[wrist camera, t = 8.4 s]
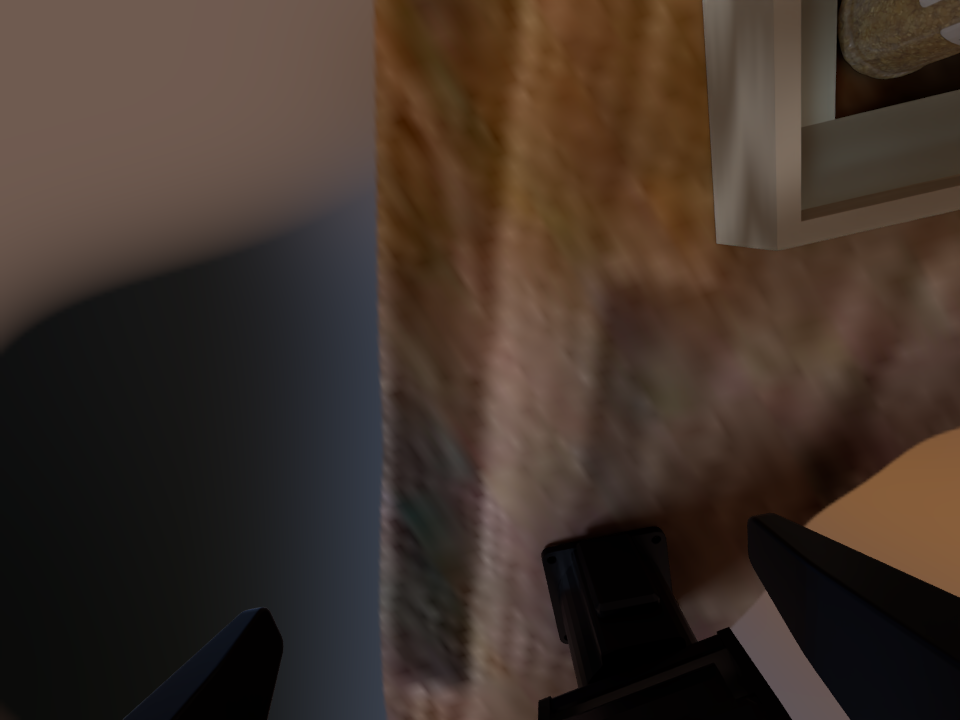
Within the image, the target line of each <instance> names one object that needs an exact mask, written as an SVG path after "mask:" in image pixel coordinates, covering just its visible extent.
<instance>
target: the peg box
mask: <svg viewBox="0 0 960 720" xmlns="http://www.w3.org/2000/svg"><path fill="white" fill-rule="evenodd" d="M703 17H704V35H705V52H706V69H707V86H708V104H709V121H710V138H711V156H712V173H713V190H714V208H715V225H716V242H717V244H725V245H733V246H741V247H749V248H758V249H766V250H774V251H779V250H784V249H788V248H793V247H797V246H801V245H806V244H810V243H815V242H819V241H824V240H828V239H832V238H837V237H841V236H846V235H850V234H855V233H859V232H863V231H868V230H872V229H877V228H881V227H886V226H890V225H894V224H899V223H903V222H908V221H912V220H916V219H921V218H925V217H930V216H934V215H939V214H943V213H947V212H952V211H956V210H960V90H956V91H951V92H947V93H943V94H939V95H935V96H930V97H926V98H922V99H918V100H914V101H910V102H905V103H901V104H897V105H893V106H889V107H885V108H880V109H876V110H872V111H868V112H864V113H860V114H855V115H851V116H847V117H843V118H839V119H835V89H836V42H837V0H703Z"/></svg>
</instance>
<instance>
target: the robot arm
mask: <svg viewBox="0 0 960 720" xmlns="http://www.w3.org/2000/svg"><path fill="white" fill-rule="evenodd" d="M747 529H748V555H749V559H750V562H751V564H752V566H753V568H754V570H755V572H756V573H757V575H758V577H759V579H760V580H761V582H762V584H763V585H764V587H765V589H766V591H767V592H768V594H769V596H770V597H771V599H772V601H773V602H774V604H775V606H776V607H777V609H778V611H779V613H780V614H781V616H782V618H783V619H784V621H785V623H786V625H787V626H788V628H789V630H790V632H791V633H792V635H793V637H794V638H795V640H796V642H797V643H798V645H799V646H800V648H801V650H802V651H803V653H804V655H805V656H806V658H807V659H808V661H809V662H810V663H811V665H812V666H813V668H814V669H815V671H816V672H817V674H818V675H819V676H820V678H821V679H822V681H823V682H824V683H825V685H826V686H827V688H829V690H830V692H831V693H832V695H833V696H834V697H835V699H836V700H837V702H838V703H839V704H840V706H841V707H842V709H843V710H844V711H845V713H846V714H847V716H848V717H849V718H850V720H960V597H957V596H955V595H953V594H951V593H948V592H946V591H944V590H942V589H940V588H938V587H935V586H933V585H931V584H929V583H926V582H924V581H922V580H919V579H918V578H916V577H913V576H911V575H909V574H906V573H905V572H902V571H900V570H898V569H896V568H893V567H891V566H889V565H887V564H885V563H883V562H880V561H878V560H876V559H873V558H872V557H869V556H867V555H865V554H863V553H861V552H858V551H856V550H854V549H852V548H849V547H847V546H845V545H843V544H841V543H839V542H836V541H834V540H832V539H830V538H828V537H825V536H823V535H821V534H819V533H817V532H814V531H812V530H810V529H808V528H806V527H803V526H801V525H799V524H797V523H795V522H792V521H790V520H788V519H786V518H784V517H781V516H779V515H777V514H774V513H767V514H762V515H756V516H752V517H750V518H749V519H748V524H747ZM654 536H657V537H656V538H653V537H654ZM551 556H554V558H552V559H549V557H551ZM541 557H542V562H543V567H544V571H545V575H546V580H547V584H548V589H549V593H550V598H551V602H552V606H553V611H554V615H555V620H556V624H557V629H558V633H559V637H560V640H561V642H563V643H565V644H569V648H570V653H571V657H572V661H573V666H574V670H575V675H576V679H577V684H578V688H577V689H575V690H572V691H569V692H567V693H564V694H562V695H559V696H557V697H554V698H551V696H549V697H547V698H544V699H542V700H539V702H538V720H792V719H791V718H790V716H789V714H788V713H787V711H786V710H785V708H784V707H783V705H782V704H781V702H780V701H779V699H778V698H777V696H776V695H775V694H774V692H773V691H772V689H771V688H770V686H769V685H768V683H767V682H766V680H765V679H764V677H763V676H762V674H761V673H760V672H759V670H758V669H757V667H756V666H755V664H754V663H753V662H752V660H751V658H750V657H749V656H748V654H747V653H746V651H745V650H744V648H743V647H742V645H741V644H740V643H739V641H738V640H737V638H736V637H735V635H734V634H733V632H732V631H731V629H730V628H729V627H727V628H725V629H722V630H720V631H717V635H714V636H712V637H709V638H706V639H704V640H701V641H699V642H698V641H697V639H696V637H695V635H694V634H693V632H692V630H691V628H690V626H689V624H688V622H687V620H686V618H685V617H684V615H683V613H682V611H681V609H680V607H679V605H678V603H677V601H676V599H675V598H674V596H673V594H672V586H671V577H670V569H669V560H668V552H667V543H666V537H665V535H664V533H663V531H662V530H661V529H660V528H659V527H649V528H644V529H639V530H634V531H629V532H624V533H618V534H613V535H608V536H603V537H598V538H593V539H588V540H583V541H578V542H573V543H568V544H563V545H558V546H553V547H548V548H545V549H544V550H543V551H542V553H541ZM282 654H283V639H282V636H281V634H280V632H279V630H278V627H277V626H276V624H275V621H274V619H273V617H272V615H271V612H270V611H269V610H268V609H267V608H265V607H260V608H255V609H250V610H246V611H243V612H242V613H240V614H239V615H238V616H237V617H236V618H235V619H234V620H233V621H232V622H230V623H229V624H228V625H227V626H226V627H225V628H224V629H223V630H222V631H220V632H219V633H218V634H217V635H216V636H215V637H214V638H213V639H212V640H211V641H209V642H208V643H207V644H206V645H205V646H204V647H203V648H202V649H201V650H199V651H198V652H197V653H196V654H195V655H194V656H193V657H192V658H191V659H190V660H188V661H187V662H186V663H185V664H184V665H183V666H182V667H181V668H179V669H178V670H177V671H176V672H175V673H174V674H173V675H172V676H171V677H169V678H168V679H167V680H166V681H165V682H164V683H163V684H162V685H161V686H160V687H158V688H157V689H156V690H155V691H154V692H153V693H152V694H151V695H150V696H148V698H146V699H145V700H144V701H143V702H142V703H141V704H140V705H139V706H137V707H136V708H135V709H134V710H133V711H132V712H131V713H130V714H128V715H127V716H126V717H125V718H124V719H123V720H267V719H268V714H269V710H270V706H271V701H272V697H273V692H274V688H275V684H276V680H277V675H278V671H279V666H280V662H281V658H282Z"/></svg>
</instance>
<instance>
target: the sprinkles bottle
mask: <svg viewBox="0 0 960 720" xmlns="http://www.w3.org/2000/svg"><path fill="white" fill-rule="evenodd" d="M837 34H838V39H839V43H840V48H841V51H842V54H843V57H844V59H845V61H847V62H848V63H849V64H850V65H851V66H852V68H853V69H854V70H856V71H858V72H859V73H861V74H865V75H868V76H870V77H873V78H877V79H889V78H896V77H901V76H904V75H907V74H910V73H912V72H915V71H917V70H919V69H921V68H922V67H924V66H925V65H927V64H929V63H932V62H935V61H939V60H942V59H944V58H947V57H950V56H953V55H955V54H958V53H960V0H842V2H841V6H840V9H839V13H838V22H837Z"/></svg>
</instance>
